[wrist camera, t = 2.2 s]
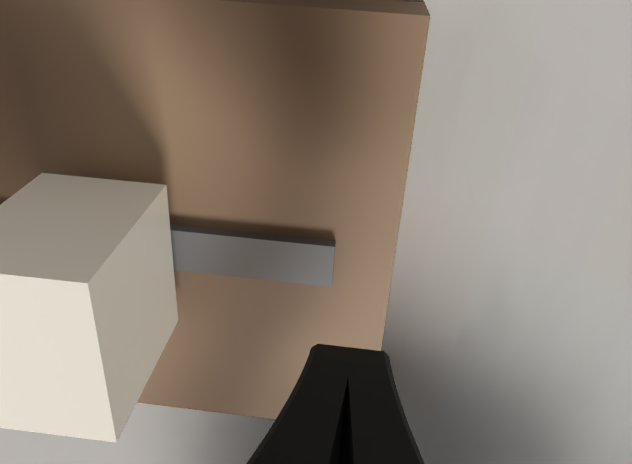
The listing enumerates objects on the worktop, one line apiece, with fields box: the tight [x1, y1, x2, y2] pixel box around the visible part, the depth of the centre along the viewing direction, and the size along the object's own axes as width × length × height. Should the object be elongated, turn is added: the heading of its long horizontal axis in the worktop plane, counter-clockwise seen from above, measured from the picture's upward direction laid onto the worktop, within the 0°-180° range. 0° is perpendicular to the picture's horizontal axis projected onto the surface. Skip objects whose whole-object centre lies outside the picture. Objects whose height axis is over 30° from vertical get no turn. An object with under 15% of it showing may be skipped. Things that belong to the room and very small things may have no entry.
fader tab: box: [0, 173, 178, 443], centre depth 12 cm, size 3×4×4 cm
